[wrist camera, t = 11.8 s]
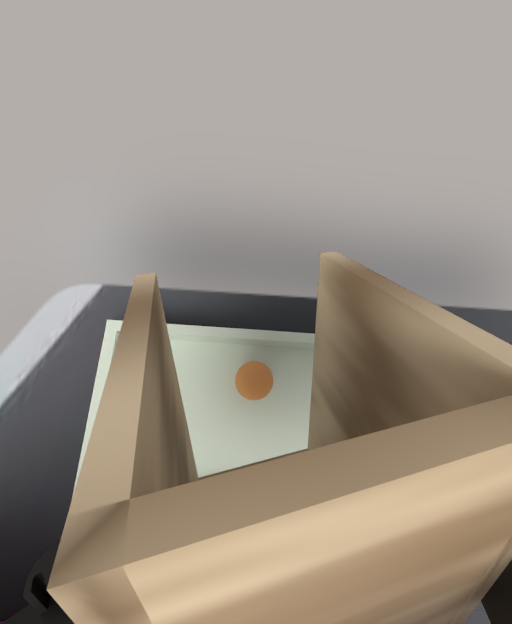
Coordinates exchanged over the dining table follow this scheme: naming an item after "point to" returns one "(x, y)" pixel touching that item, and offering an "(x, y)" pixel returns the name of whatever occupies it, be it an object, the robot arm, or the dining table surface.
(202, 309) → the dining table surface
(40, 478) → the dining table surface
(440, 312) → the tall wooden crate
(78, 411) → the dining table surface
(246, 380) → the ball
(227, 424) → the tray
